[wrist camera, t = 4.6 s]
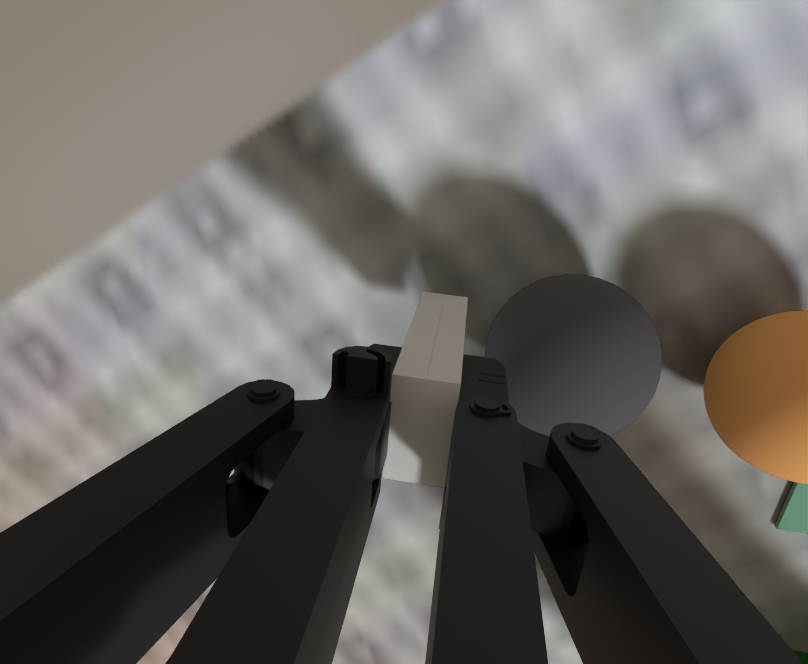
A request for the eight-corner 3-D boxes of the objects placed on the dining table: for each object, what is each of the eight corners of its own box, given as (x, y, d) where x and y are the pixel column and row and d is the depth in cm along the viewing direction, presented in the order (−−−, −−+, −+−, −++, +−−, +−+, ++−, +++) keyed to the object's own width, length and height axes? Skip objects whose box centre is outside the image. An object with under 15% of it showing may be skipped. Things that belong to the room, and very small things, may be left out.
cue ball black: (549, 495, 15) (678, 455, 17) (583, 307, 13) (721, 293, 15) (447, 408, 19) (560, 387, 22) (462, 261, 17) (583, 256, 20)
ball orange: (661, 415, 20) (726, 507, 15) (704, 281, 18) (795, 334, 13) (807, 436, 20) (923, 538, 15) (866, 301, 18) (1024, 364, 13)
